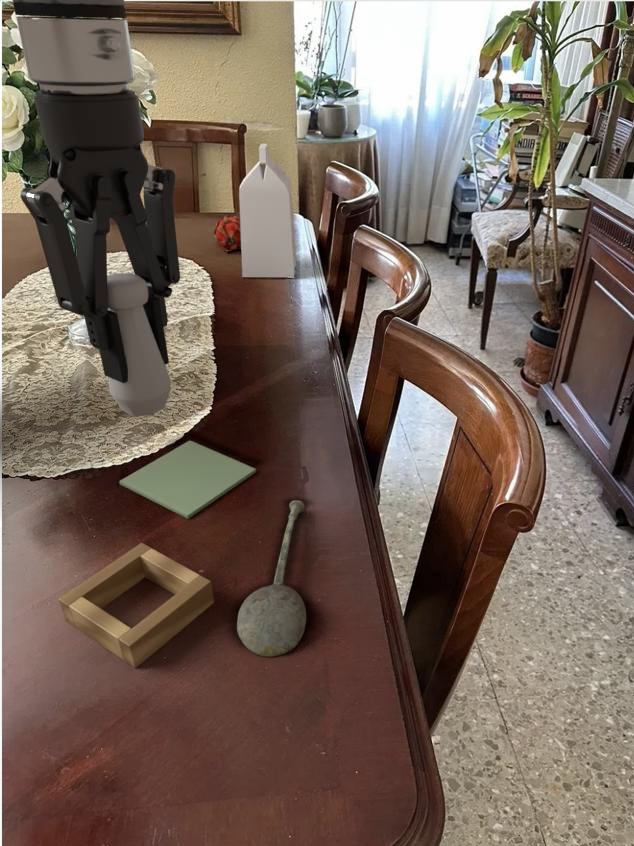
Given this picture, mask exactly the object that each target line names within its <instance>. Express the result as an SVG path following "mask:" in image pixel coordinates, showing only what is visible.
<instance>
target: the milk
mask: <svg viewBox="0 0 634 846" xmlns="http://www.w3.org/2000/svg"><path fill="white" fill-rule="evenodd" d="M258 159H259V161H257V163H255V165H254V166H253V167H252V169H250V171H249V172H248V173H247V174H246V176H245V177H244V178H243V180H242V181H241V183H240V185H239V189H238V190H239V191H238V196H239V197H238V199H239V202H238V203H239V218H240V228H241V250H240V253H241V277H288V278H294V279H295V277H294V275H296V270H295V267H296V268H297V253H296V251H297V250H296V237H295V235H296V234H295V221H294V219H295V218H294V204H293V203H294V202H293V188H292V180H291V178H290V177H289V176H288V174H287V172H286V170H285V169H284V167H283V166H282V164H280V163H279V162H275V161H274V160H273V159H272V157H270V153H269V145H268V143H260V145H259V147H258Z"/></svg>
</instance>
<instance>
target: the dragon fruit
mask: <svg viewBox="0 0 634 846" xmlns="http://www.w3.org/2000/svg"><path fill="white" fill-rule="evenodd" d="M213 238H214V239H216V241H217V243H218V245H219V246H220V247H221V248H222V250H223V251H224V250H233V251H237V250H239V249H238V248H240V249H241V228H240V216H238V215H233V216H231V215H225V216H224V218H223V219H219V220H218V221H217V222H216V223H215V228H214V230H213ZM226 252H228V251H226ZM226 252H225V253H226Z"/></svg>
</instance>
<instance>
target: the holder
mask: <svg viewBox="0 0 634 846" xmlns="http://www.w3.org/2000/svg"><path fill="white" fill-rule="evenodd" d="M144 578H146V579H147V580H149V581H151V582H152V583H154V584H156V585H157V586H160V587H161V588H163V589H164V590H167V591H168V592H170V593H171V594H173V596H171V597H170V598H169V599H167V600H166V601H165V602H164V603H163V604H161V605H160V606H159V607H157V608H156V609H155V610H154V611H153V612H150V614H149V615H147V616H146V617H145V618H143V619H142V620H141V621H140V622H138V623H137V624H136V625H135V626H133V627H132V628H131V627H130V626H128V625H126V624H125V623H124V622H122V621H120V620H119V619H117V618H116V617H115V616H113V615H111V614H110V613H108V612H107V611H105V610H104V609H103V608H104V607H106V606H107V605H109V604H111V602H113V601H114V600H115V599H117V598H118V597H120V596H121V595H123V594H124V593H125V592H127V591H129V589H131V588H132V587H134V586H135V585H136V584H137V583H139V582H140V581H142V580H143V579H144ZM212 587H213V586H212V581H211V580H210V579H207V578H206V577H205V576H202V575H200V573H199V574H198V573H197V572H195V571H193V570H192V569H189V568H188V567H186V566H184V565H183V564H180V562H179V563H178V562H177V561H175V560H174V559H172V558H170V557H168V556H166V555H164V554H163V553H161V552H159V551H157V550H156V549H154V548H152V547H151V546H149V545H146V544H145V543H144V542H140V543H139V544H137V545H136V546H134V547H133V548H132V549H130V550H128V551H127V552H125V553H124V554H123V555H121V556H120V557H118V558H117V559H115V560H114V561H112V562H111V563H109V564H108V565H106V566H105V567H103V568H102V569H100V570H99V571H98V572H96V573H94V574H93V575H92V576H90V577H88V578H87V579H85V580H84V581H83V582H81V583H80V584H78V585H76V586H75V587H74V588H72V589H71V590H70V591H68V592H66V593H65V594H64V595H62V596H61V597H59V598H58V601H59V604H60V609H61V610H62V613H63V617H64V619H65V621H66V622H67V623H68V624H70V625H71V626H73V627H74V628H76V629H77V630H78V631H80V632H81V633H83V634H84V635H86V636H87V637H88V638H91V639H93V640H94V641H95V642H96V643H97V644H99V645H100V646H102V647H104V648H105V649H106V650H108V651H110V653H112V654H114V655H115V656H117V657H118V658H120V659H121V660H123V661H124V662H125V663H127V664H128V665H130V666H132V667H133V668H134V669H136V668H138V667H139V666H140V665H142V664H143V663H144V662H145V661H146V660H147V659H149V658H150V657H151V656H152V655H154V654H155V653H156V652H157V651H158V650H159V649H160V648H162V647H163V646H164V645H165V644H166V643H168V642H169V641H170V640H171V639H173V638H174V637H175V636H176V635H177V634H179V633H180V632H181V631H182V630H183V629H185V628H186V627H187V626H188V625H189V624H191V622H193V621H194V620H196V618H197V617H199V616H200V615H202V614H203V613H204V612H205V611H206V610H208V609H209V608H210V607H211V606H212V605H213V604H214V603H215V600H214V599H215V598H214V593H213V588H212Z"/></svg>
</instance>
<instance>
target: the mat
mask: <svg viewBox="0 0 634 846" xmlns="http://www.w3.org/2000/svg"><path fill="white" fill-rule="evenodd" d="M256 473H257V469H256V468H255V467H252V466H250V465H248V464H246V463H243V462H240V461H239V460H236V459H234V458H231V457H229V456H227V455H224V454H222V453H220V452H218V451H215V450H213V449H211V448H208V447H206V446H204V445H201V444H199V443H197V442H195V441H192V440H188V441H186V442H185V443H183V444H181V445H179V446H177V447H176V448H174V449H173V450H171V451H169V452H167V453H165V454H164V455H162V456H160V457H159V458H156V459H155V460H153V461H152V462H150V463H148V464H146V465H145V466H143V467H140V469H138V470H136V471H135V472H133V473H131V474H129V475H128V476H126V477H124V478H122V479H120V480H119V482H118V484H119V485H120V486H122V487H124V488H126V489H128V490H130V491H132V492H134V493H136V494H138V495H140V496H142V497H144V498H146V499H147V500H149V501H152V502H153V503H156V504H157V505H159V506H162V507H163V508H165V509H168V510H170V511H171V512H173V513H176V514H177V515H179V516H181V517H183V518H186V519H187V520H189V519H190V518H192V517H193V516H195V515H196V514H198V513H200V511H202V510H203V509H205V508H206V507H208V506H209V505H211V504H212V503H214V502H215V501H216V500H218V499H219V498H221V497H222V496H223V495H225V494H227V493H228V492H229V491H231V490H233V489H234V488H235V487H237V486H238V485H239V484H241V483H242V482H244V481H245V480H247V479H249V478H250V477H252V476H253V475H254V474H256Z"/></svg>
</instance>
